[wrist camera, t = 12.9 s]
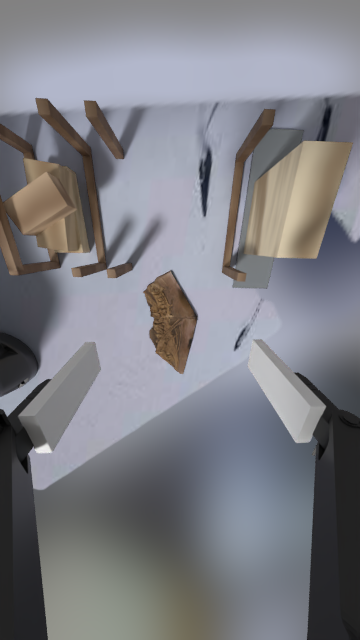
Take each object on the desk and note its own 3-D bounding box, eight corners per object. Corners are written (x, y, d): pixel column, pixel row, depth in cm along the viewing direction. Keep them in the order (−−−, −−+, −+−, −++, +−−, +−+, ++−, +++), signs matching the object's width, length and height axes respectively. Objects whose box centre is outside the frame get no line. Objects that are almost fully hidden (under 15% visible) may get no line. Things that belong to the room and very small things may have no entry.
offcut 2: (50, 246, 30) (37, 246, 27) (39, 167, 26) (22, 157, 23) (78, 250, 30) (67, 251, 27) (71, 173, 26) (58, 164, 23)
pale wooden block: (243, 253, 33) (277, 257, 21) (254, 182, 28) (303, 140, 17) (269, 254, 33) (316, 258, 22) (284, 183, 28) (352, 142, 17)
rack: (54, 267, 34) (10, 275, 25) (23, 144, 26) (-54, 93, 18) (227, 272, 34) (245, 281, 25) (243, 154, 27) (275, 109, 18)
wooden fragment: (141, 272, 34) (139, 273, 33) (195, 268, 34) (196, 269, 33) (155, 373, 45) (155, 376, 44) (198, 371, 44) (198, 374, 43)
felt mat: (232, 287, 35) (233, 287, 35) (256, 129, 26) (257, 128, 26) (266, 288, 36) (267, 288, 35) (302, 131, 26) (303, 130, 26)
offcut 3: (65, 251, 33) (54, 252, 30) (46, 173, 28) (32, 165, 25) (91, 252, 33) (83, 252, 30) (77, 174, 28) (66, 166, 26)
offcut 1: (15, 208, 25) (0, 204, 23) (58, 178, 24) (46, 171, 21) (36, 235, 26) (23, 234, 24) (77, 209, 25) (67, 205, 23)
